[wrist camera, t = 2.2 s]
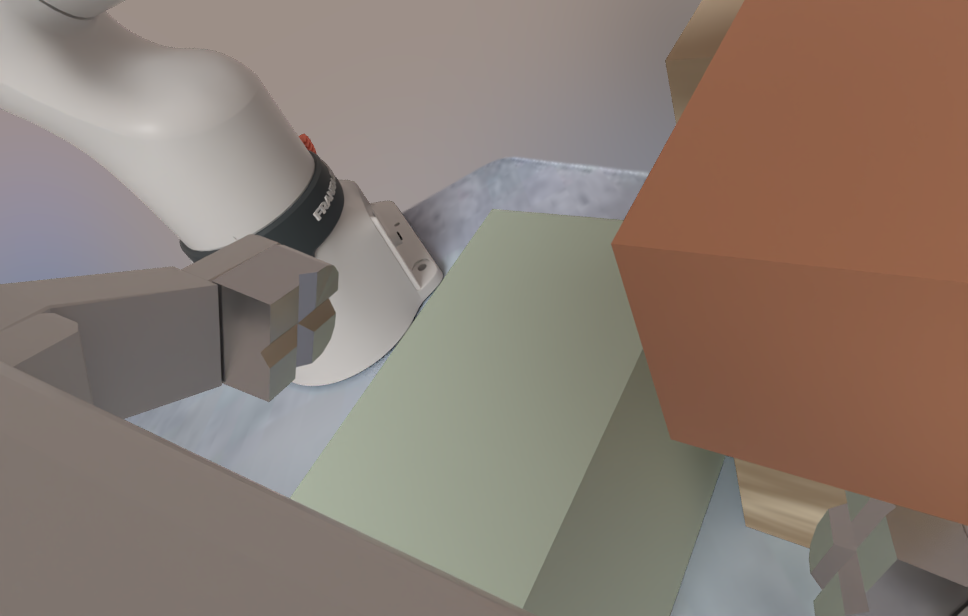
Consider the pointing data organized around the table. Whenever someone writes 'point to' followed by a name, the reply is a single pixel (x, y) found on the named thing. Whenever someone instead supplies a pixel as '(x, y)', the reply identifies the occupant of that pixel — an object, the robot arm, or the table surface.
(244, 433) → the table surface
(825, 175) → the salmon square-ended bar
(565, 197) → the table surface
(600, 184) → the table surface
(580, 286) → the sage green block
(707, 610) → the table surface
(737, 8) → the tower
